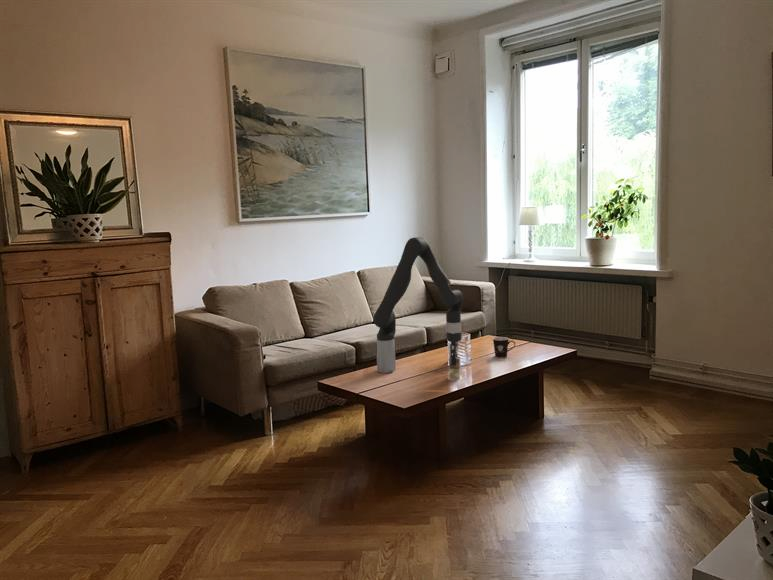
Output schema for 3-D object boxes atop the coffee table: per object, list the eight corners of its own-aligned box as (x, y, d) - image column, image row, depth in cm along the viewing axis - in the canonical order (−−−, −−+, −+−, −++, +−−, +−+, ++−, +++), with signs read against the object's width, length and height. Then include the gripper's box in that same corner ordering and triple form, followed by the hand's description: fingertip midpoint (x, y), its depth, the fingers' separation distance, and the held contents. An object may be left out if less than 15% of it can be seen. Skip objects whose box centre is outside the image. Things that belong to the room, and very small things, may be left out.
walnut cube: (449, 369, 309) (448, 359, 309) (450, 366, 314) (449, 356, 313) (459, 369, 308) (459, 359, 308) (460, 366, 313) (459, 356, 312)
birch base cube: (449, 378, 310) (449, 369, 309) (450, 376, 315) (450, 366, 314) (459, 379, 309) (459, 369, 308) (460, 376, 314) (460, 366, 313)
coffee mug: (490, 356, 353) (490, 339, 352) (498, 353, 360) (498, 336, 358) (508, 359, 346) (508, 341, 344) (516, 356, 352) (516, 338, 351)
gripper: (447, 327, 316) (448, 359, 318) (444, 333, 302) (445, 366, 305) (462, 327, 315) (463, 359, 317) (460, 333, 301) (461, 366, 303)
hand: (454, 363), depth 311 cm, fingers open, 8 cm apart
